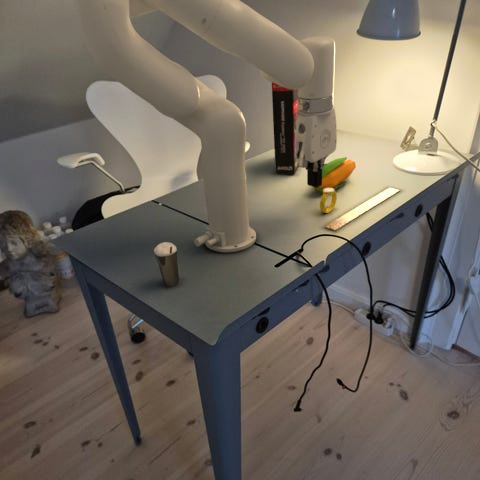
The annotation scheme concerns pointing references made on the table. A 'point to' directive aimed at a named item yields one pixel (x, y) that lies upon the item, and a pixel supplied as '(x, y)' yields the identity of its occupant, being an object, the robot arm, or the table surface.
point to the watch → (323, 199)
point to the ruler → (361, 209)
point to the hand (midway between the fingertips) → (314, 185)
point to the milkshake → (167, 263)
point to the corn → (336, 173)
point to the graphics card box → (285, 128)
